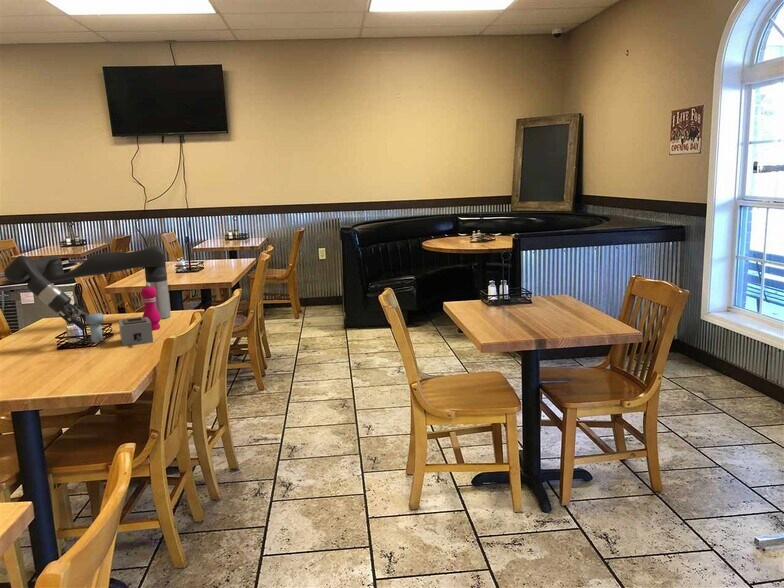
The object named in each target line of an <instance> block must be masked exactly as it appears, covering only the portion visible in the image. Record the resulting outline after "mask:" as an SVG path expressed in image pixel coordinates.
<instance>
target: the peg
mask: <svg viewBox="0 0 784 588" xmlns="http://www.w3.org/2000/svg"><path fill="white" fill-rule="evenodd" d="M85 318H86V322H85V325H89V324H90V325H89V330H90V338H91V343H92V342H99V341H103V342H104V337H103V331H102V323H104V322H105V320H104V313H100V312H95V313H89V314H88V313H87V315H86V316H85Z"/></svg>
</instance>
